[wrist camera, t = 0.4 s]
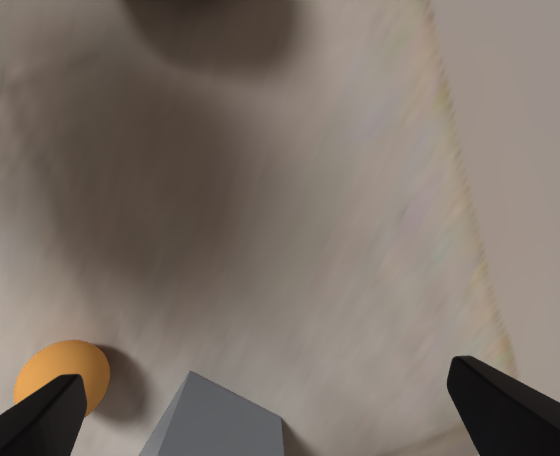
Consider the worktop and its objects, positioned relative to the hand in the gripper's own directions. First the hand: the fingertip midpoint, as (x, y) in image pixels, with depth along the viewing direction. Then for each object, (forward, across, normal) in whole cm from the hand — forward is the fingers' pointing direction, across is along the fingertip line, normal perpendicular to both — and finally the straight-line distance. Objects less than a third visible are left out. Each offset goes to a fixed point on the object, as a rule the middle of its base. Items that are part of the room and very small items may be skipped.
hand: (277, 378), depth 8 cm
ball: (+11, +12, +10) cm, 19 cm away
